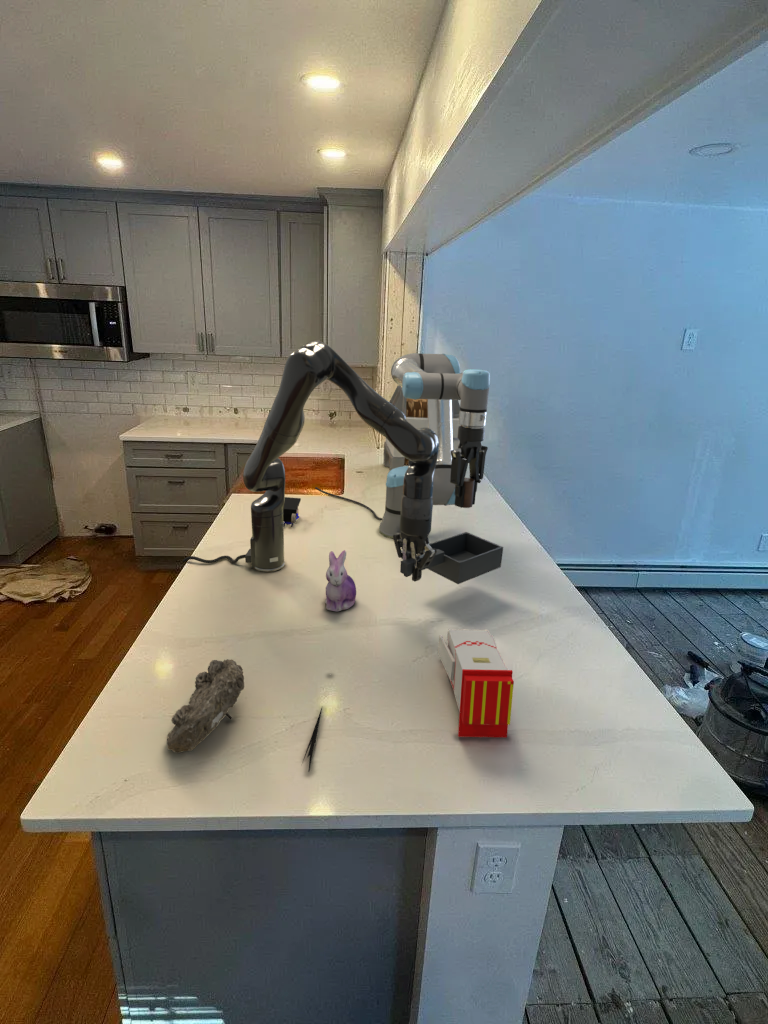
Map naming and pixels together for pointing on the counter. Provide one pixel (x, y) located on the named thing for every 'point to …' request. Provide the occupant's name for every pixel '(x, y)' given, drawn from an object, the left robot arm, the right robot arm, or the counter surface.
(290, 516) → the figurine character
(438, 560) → the bin
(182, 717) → the fossil
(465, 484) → the walnut peg
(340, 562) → the figurine
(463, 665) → the toy
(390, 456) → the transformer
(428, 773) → the counter surface
